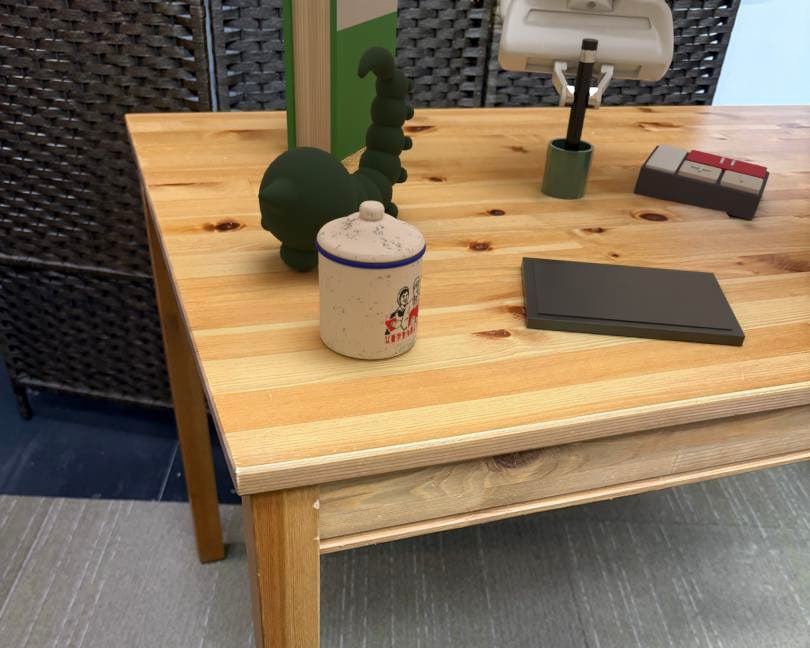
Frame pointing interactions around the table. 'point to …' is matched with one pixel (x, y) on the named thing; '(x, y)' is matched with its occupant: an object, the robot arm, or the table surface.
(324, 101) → the hardback book
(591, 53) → the stylus
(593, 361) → the table surface
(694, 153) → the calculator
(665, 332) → the tablet
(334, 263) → the teacup with lid
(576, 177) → the pen cup
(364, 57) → the toy figurine
